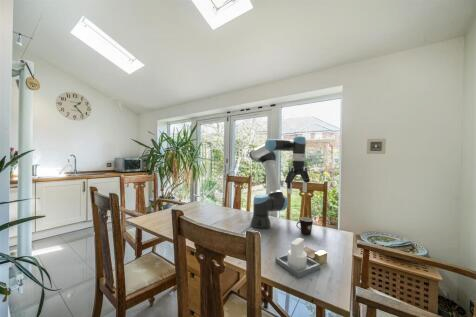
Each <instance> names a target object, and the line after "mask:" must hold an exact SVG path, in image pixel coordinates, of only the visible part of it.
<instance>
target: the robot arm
mask: <svg viewBox="0 0 476 317" xmlns="http://www.w3.org/2000/svg"><path fill="white" fill-rule="evenodd" d="M306 141H307V139H306V137H305V136H300V135H299V136H297V135H296V136H294V137H293V139H278V138H277V139H275V138H268V139H266V141H265V142H264V144H262V145H260V146H258V147H254V148H252V149H250V151H249V158H250V160H252V161H253V162H255V163H261V166H262V167H263V168H264V172H265V177H266V182H267V187H268V191H269V192H268V194H267V193H259V194H256V195H255V196H254V197H253V205H252V206H253V207H252V208H253V209H252V218H251V220H250V226H251V227H252V228H254V229H257V230H265V229H266V230H267V229H270V228H271V220H270V216H269V215H270V214H269V213H270V212H282V211H285V210H286V209H287V208H288V196H286V195H285V194H284V193H283V191H281V189H280V184H279V181H278V176H277V171H276V167H275V164H276V161H277V159H278V158H277V157H278V156H277V152H276V151H278V152H279V151H285V152H292V167H289V168H288V172H287V174H286V177H285V180H284V183H285V184H286V183H287V184H286V185H287V186H286V187H287V194H289V195H292V194H293V193H292V192H293V191H292V190H293V181H294V180H295V177H297V176H298V175H299V176H300V177H301V179H302V181H303V182H302V192H303V193H307V189H308V188H307V187H308V183H309V182H310V181H311V179H310V175H309V173H308V168H307V167H305V162H306V160H305V159H306V147H307V146H306V145H307V144H306V143H307V142H306Z"/></svg>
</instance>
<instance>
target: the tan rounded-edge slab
mask: <svg viewBox="0 0 476 317" xmlns="http://www.w3.org/2000/svg"><path fill="white" fill-rule="evenodd" d="M304 252H306V254H307V257H308V258H310V259H312V260H314V258H315V253H316V252H317V251H316V250H314V249H312V248H310V247H308V246H304Z"/></svg>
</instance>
